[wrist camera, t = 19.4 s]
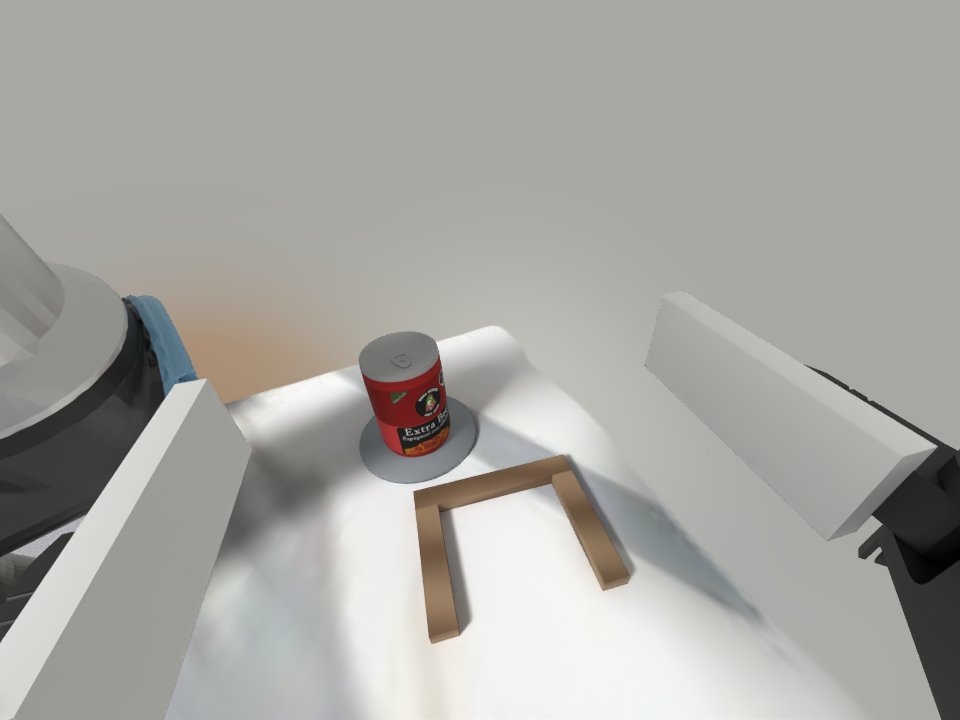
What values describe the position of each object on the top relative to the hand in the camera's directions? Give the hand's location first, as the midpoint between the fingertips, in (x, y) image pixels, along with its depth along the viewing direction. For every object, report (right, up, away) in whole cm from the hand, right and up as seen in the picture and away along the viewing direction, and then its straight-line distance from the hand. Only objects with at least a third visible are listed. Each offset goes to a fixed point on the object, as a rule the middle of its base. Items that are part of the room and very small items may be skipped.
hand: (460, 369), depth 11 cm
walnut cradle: (+3, -15, +21) cm, 26 cm away
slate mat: (-6, -8, +31) cm, 33 cm away
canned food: (-6, -8, +31) cm, 33 cm away
